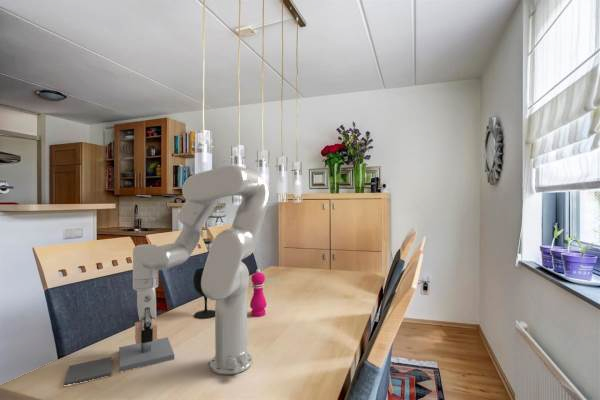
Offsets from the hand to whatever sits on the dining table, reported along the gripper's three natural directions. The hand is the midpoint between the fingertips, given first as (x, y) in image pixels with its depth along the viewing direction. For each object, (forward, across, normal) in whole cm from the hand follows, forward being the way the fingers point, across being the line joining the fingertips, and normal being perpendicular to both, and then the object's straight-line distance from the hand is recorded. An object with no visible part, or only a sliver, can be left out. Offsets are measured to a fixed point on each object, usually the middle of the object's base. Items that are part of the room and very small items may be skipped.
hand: (145, 336), depth 102 cm
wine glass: (+6, +28, -26) cm, 39 cm away
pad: (+6, -3, +15) cm, 16 cm away
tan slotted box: (+1, 0, 0) cm, 1 cm away
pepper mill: (+6, +16, -46) cm, 49 cm away
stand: (+6, 0, 0) cm, 6 cm away
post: (+4, 0, 0) cm, 4 cm away
